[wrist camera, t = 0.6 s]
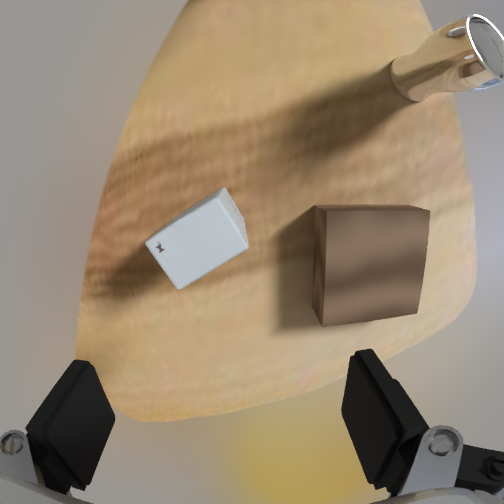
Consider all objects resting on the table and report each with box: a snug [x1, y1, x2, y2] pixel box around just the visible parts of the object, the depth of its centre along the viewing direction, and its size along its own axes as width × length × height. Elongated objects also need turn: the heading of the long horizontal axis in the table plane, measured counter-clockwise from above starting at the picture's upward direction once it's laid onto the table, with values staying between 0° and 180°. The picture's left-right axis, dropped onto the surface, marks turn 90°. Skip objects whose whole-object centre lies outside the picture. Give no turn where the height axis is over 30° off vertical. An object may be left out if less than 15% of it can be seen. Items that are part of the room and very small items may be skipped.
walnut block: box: [312, 205, 430, 327], centre depth 30 cm, size 12×12×5 cm
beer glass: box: [390, 14, 504, 102], centre depth 19 cm, size 7×7×15 cm
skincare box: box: [145, 187, 249, 290], centre depth 25 cm, size 6×4×12 cm
